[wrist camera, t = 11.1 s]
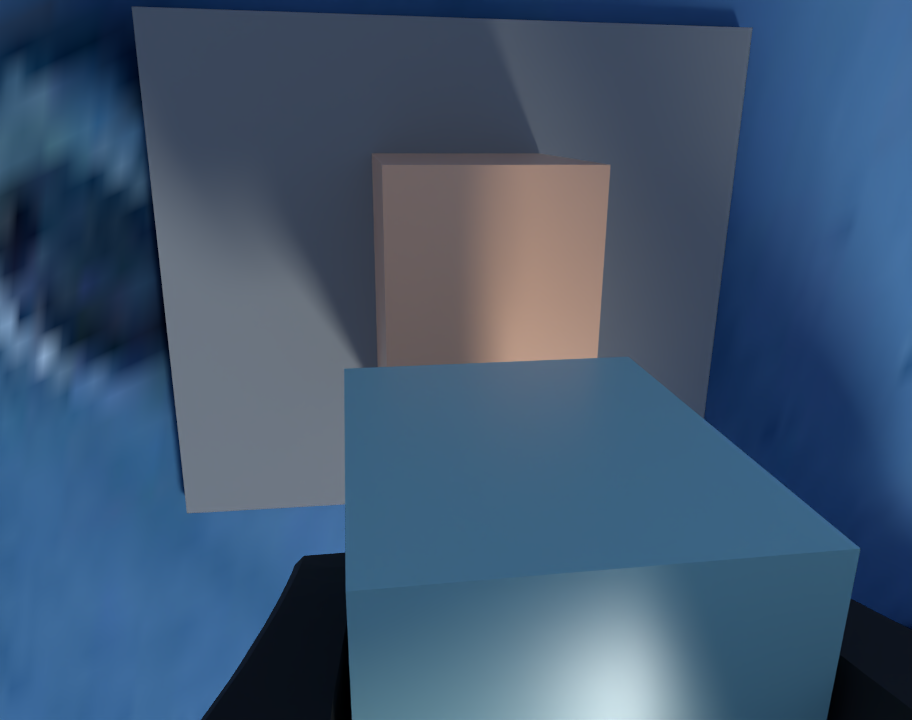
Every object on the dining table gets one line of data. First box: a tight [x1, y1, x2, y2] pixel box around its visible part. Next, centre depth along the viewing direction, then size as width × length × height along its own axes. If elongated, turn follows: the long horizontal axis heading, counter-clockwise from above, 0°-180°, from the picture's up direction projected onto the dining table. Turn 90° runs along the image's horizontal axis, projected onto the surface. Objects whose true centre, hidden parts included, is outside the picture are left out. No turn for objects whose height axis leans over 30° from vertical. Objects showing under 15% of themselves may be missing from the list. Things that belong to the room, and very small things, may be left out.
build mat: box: [132, 7, 752, 513], centre depth 19 cm, size 14×12×1 cm
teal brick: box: [344, 357, 860, 720], centre depth 9 cm, size 4×6×5 cm, turn 0°
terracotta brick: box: [372, 153, 610, 367], centre depth 16 cm, size 4×6×5 cm, turn 0°
